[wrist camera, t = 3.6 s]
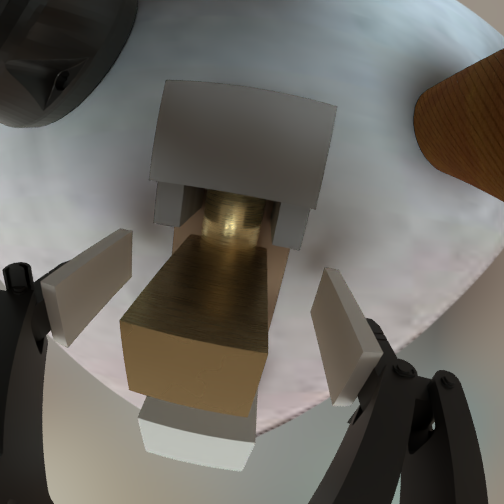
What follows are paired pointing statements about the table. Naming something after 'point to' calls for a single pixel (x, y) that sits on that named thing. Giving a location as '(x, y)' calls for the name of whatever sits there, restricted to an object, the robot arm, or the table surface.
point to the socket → (197, 434)
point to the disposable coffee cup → (466, 125)
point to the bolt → (205, 314)
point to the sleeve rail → (241, 161)
